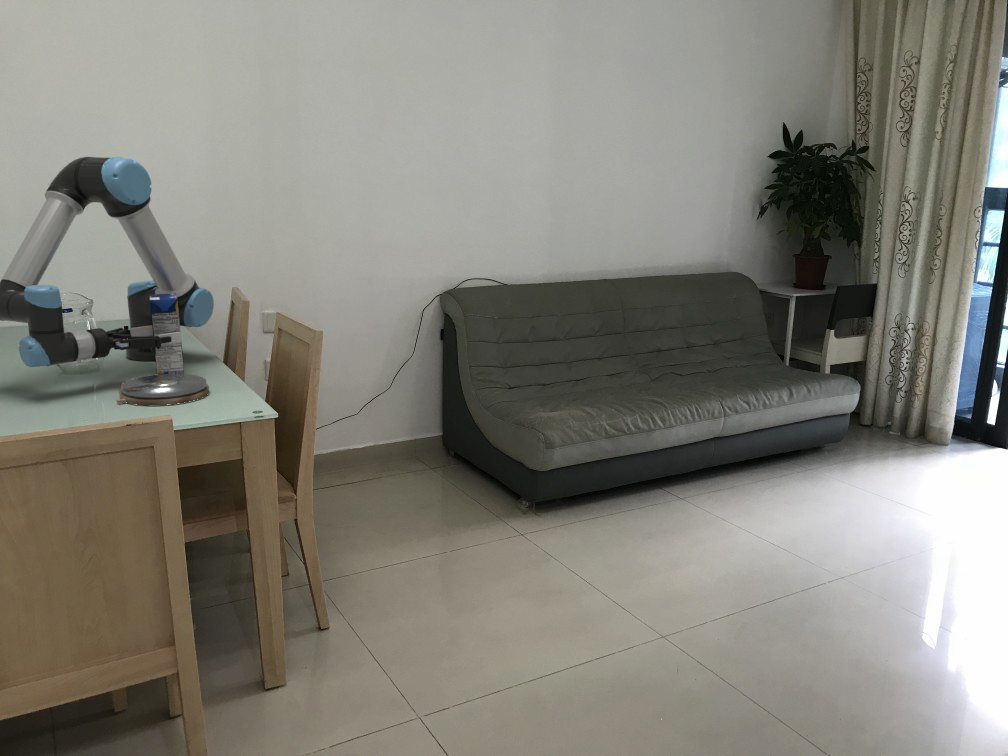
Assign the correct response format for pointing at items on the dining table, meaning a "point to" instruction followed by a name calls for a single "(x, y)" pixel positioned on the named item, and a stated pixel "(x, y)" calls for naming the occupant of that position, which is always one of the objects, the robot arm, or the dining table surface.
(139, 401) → the turntable base
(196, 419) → the dining table surface
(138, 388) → the turntable
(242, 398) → the dining table surface
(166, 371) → the beverage box
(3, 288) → the robot arm
